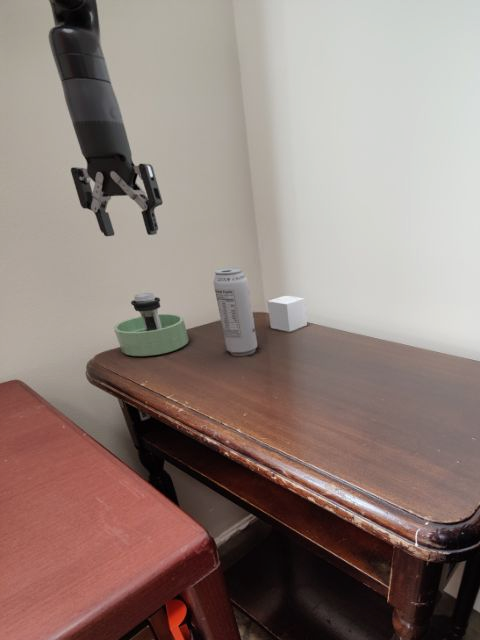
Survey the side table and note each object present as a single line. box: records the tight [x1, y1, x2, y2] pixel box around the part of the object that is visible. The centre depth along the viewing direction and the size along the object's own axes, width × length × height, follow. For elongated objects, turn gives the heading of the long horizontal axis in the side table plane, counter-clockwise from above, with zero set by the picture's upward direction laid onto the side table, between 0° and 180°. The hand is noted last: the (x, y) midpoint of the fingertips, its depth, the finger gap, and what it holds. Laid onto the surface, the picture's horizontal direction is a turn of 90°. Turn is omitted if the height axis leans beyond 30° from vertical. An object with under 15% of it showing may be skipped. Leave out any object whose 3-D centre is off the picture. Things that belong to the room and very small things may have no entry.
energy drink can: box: [212, 267, 258, 357], centre depth 74 cm, size 6×6×15 cm
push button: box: [130, 292, 162, 331], centre depth 80 cm, size 7×5×10 cm
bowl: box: [113, 313, 190, 357], centre depth 82 cm, size 13×13×5 cm
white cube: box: [267, 295, 308, 333], centre depth 90 cm, size 6×6×6 cm
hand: (130, 235), depth 72 cm, fingers open, 8 cm apart
